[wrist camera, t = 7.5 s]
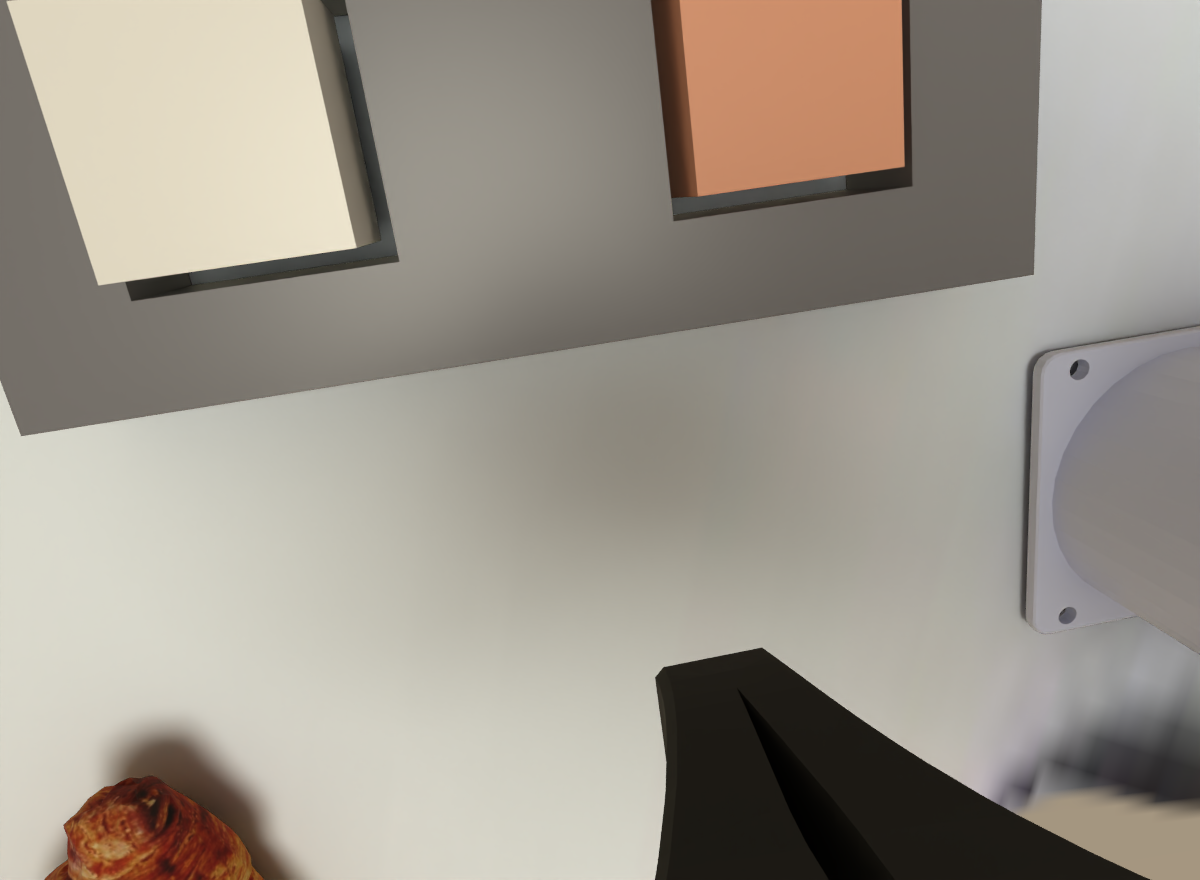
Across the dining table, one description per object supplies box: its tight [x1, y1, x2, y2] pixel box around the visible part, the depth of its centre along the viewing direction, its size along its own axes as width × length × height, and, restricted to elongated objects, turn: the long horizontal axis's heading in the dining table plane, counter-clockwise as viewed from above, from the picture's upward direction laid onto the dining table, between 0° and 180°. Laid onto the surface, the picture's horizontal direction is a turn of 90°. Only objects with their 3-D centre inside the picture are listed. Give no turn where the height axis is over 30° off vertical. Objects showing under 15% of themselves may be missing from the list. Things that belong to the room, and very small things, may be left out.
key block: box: [0, 0, 1042, 436], centre depth 16 cm, size 20×9×3 cm, turn 98°
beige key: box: [7, 0, 381, 285], centre depth 13 cm, size 4×4×3 cm
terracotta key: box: [651, 0, 905, 198], centre depth 15 cm, size 4×4×3 cm
